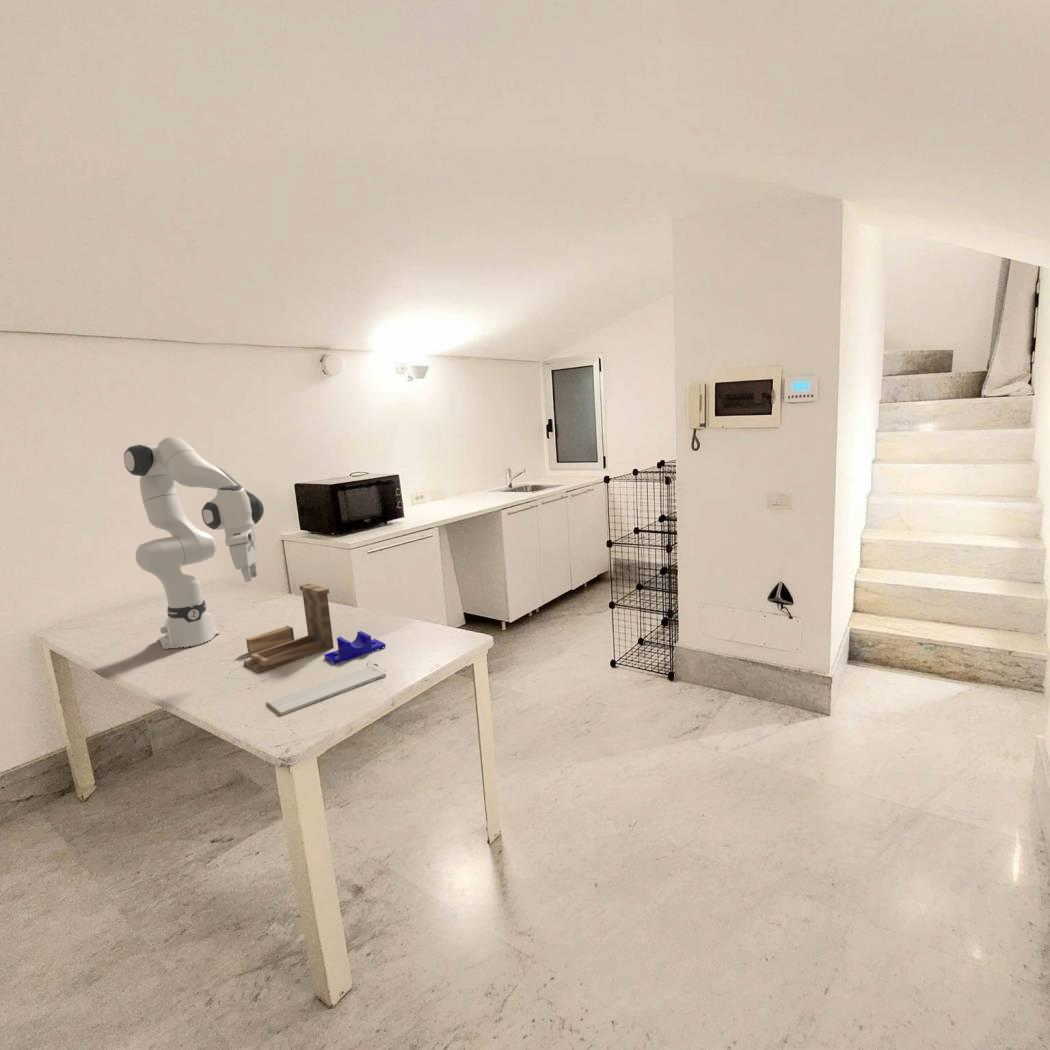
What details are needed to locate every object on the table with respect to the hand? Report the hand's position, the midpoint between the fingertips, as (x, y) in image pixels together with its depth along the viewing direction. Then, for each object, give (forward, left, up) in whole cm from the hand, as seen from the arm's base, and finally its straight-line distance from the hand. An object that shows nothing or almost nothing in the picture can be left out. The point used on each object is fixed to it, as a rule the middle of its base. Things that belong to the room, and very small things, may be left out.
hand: (251, 579), depth 189 cm
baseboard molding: (+37, +1, -28) cm, 47 cm away
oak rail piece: (-11, +7, -28) cm, 30 cm away
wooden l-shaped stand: (+3, +7, -27) cm, 29 cm away
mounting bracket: (+20, +21, -28) cm, 41 cm away
